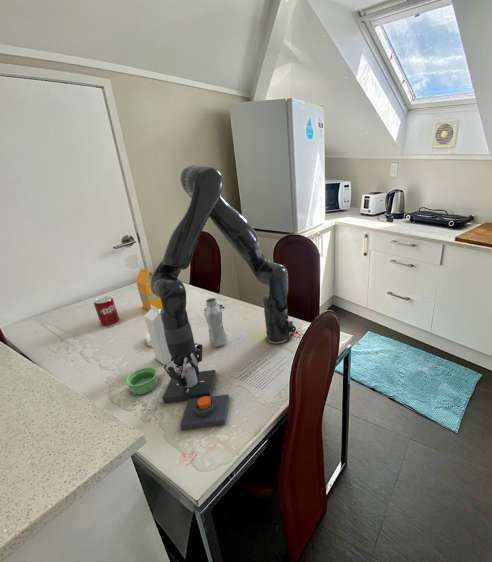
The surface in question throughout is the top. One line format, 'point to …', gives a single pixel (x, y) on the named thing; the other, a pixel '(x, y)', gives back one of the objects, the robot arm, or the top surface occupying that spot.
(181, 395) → the brew base
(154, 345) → the milk
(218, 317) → the plastic bottle
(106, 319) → the soda can
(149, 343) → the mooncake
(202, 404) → the power button
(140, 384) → the ramekin
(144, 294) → the orange juice
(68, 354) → the top surface
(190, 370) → the brew dial
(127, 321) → the top surface
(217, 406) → the button block
